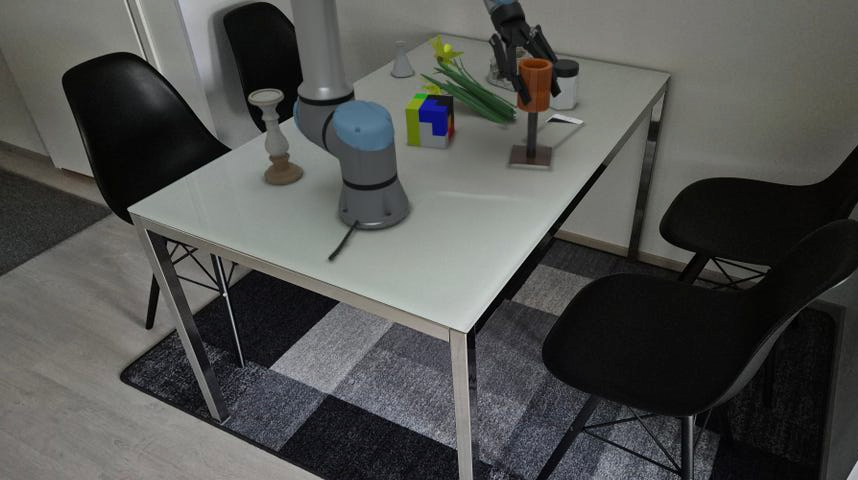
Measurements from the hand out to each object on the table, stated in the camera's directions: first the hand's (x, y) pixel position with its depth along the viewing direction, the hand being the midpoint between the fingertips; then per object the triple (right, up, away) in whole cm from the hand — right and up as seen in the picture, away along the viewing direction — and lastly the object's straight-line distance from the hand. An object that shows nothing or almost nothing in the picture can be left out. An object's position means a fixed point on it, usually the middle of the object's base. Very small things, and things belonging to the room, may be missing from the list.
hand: (542, 98), depth 144 cm
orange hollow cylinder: (-2, -1, +4) cm, 5 cm away
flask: (-39, +24, +59) cm, 75 cm away
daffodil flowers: (-17, +7, +36) cm, 41 cm away
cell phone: (+6, -2, +25) cm, 25 cm away
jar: (+9, +9, +39) cm, 42 cm away
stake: (-2, -12, +13) cm, 17 cm away
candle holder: (-62, -17, +7) cm, 64 cm away
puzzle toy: (-27, -4, +22) cm, 35 cm away
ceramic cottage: (-4, +20, +53) cm, 57 cm away
